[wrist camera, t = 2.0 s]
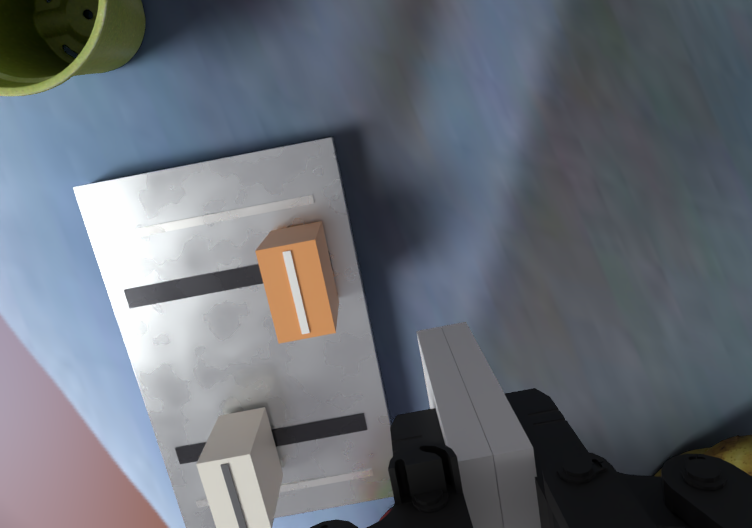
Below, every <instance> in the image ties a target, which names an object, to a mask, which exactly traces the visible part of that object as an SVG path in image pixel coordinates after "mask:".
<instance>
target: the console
mask: <svg viewBox="0 0 752 528" xmlns="http://www.w3.org/2000/svg"><path fill="white" fill-rule="evenodd" d="M73 189H74V192H75V195H76V198H77V201H78V204H79V207H80V210H81V213H82V216H83V219H84V222H85V225H86V228H87V231H88V234H89V237H90V240H91V243H92V246H93V250H94V253H95V256H96V259H97V262H98V265H99V268H100V271H101V274H102V277H103V280H104V283H105V286H106V289H107V292H108V295H109V298H110V301H111V304H112V307H113V310H114V313H115V316H116V319H117V322H118V325H119V328H120V331H121V334H122V337H123V340H124V343H125V346H126V349H127V352H128V355H129V358H130V361H131V364H132V367H133V370H134V373H135V376H136V379H137V382H138V385H139V388H140V391H141V394H142V397H143V400H144V403H145V406H146V409H147V412H148V415H149V418H150V421H151V424H152V427H153V430H154V433H155V436H156V439H157V442H158V445H159V448H160V451H161V454H162V457H163V460H164V463H165V466H166V469H167V472H168V475H169V478H170V481H171V484H172V487H173V490H174V493H175V496H176V499H177V502H178V505H179V508H180V511H181V514H182V517H183V520H184V523H185V526H186V528H216V525H215V522H214V519H213V516H212V513H211V510H210V506H209V503H208V500H207V497H206V494H205V491H204V487H203V484H202V481H201V478H200V475H199V472H198V468H197V465H196V463H197V461H198V459H199V457H200V455H201V453H202V451H203V448H204V446H205V444H206V442H207V440H208V438H209V436H210V434H211V431H212V429H213V427H214V425H215V423H216V421H217V419H218V417H219V416H220V415H226V414H231V413H236V412H242V411H247V410H253V409H258V408H263V407H265V408H266V412H267V416H268V419H269V423H270V427H271V431H272V434H273V438H274V442H275V445H276V449H277V453H278V457H279V460H280V464H281V468H282V472H283V478H282V482H281V487H280V492H279V496H278V501H277V506H276V511H275V515H274V518H277V517H283V516H288V515H294V514H299V513H305V512H310V511H316V510H321V509H327V508H332V507H338V506H343V505H349V504H354V503H360V502H365V501H371V500H377V499H382V498H388V497H393V496H394V495H393V491H392V486H391V481H390V476H389V471H388V467H389V462H390V460H391V458H392V457H393V451H392V441H391V432H390V427H391V420H390V415H389V410H388V405H387V400H386V395H385V390H384V385H383V380H382V375H381V370H380V365H379V360H378V355H377V351H376V346H375V341H374V336H373V331H372V326H371V321H370V316H369V311H368V306H367V301H366V296H365V291H364V286H363V281H362V276H361V271H360V266H359V261H358V257H357V252H356V247H355V242H354V237H353V232H352V227H351V222H350V217H349V212H348V207H347V202H346V197H345V192H344V187H343V182H342V177H341V172H340V167H339V163H338V158H337V153H336V148H335V143H334V138H333V137H328V138H322V139H317V140H312V141H307V142H302V143H296V144H291V145H286V146H281V147H276V148H271V149H265V150H260V151H255V152H250V153H245V154H240V155H234V156H229V157H224V158H219V159H214V160H209V161H203V162H198V163H193V164H188V165H183V166H177V167H172V168H167V169H162V170H157V171H152V172H146V173H141V174H136V175H131V176H126V177H121V178H115V179H110V180H105V181H100V182H95V183H90V184H85V185H81V186H77V187H73ZM319 221H322V224H323V229H324V234H325V238H326V243H327V247H328V252H329V257H330V261H331V266H332V271H333V275H334V280H335V284H336V289H337V294H338V298H339V308H338V317H337V327H336V333H333V334H328V335H322V336H317V337H312V338H306V339H301V340H296V341H290V342H285V343H280V344H279V343H278V339H277V335H276V331H275V327H274V323H273V319H272V315H271V311H270V307H269V304H268V300H267V296H266V292H265V288H264V284H263V280H262V276H261V272H260V268H259V264H258V260H257V256H256V252H255V251H256V249H257V248H258V247H259V245H260V244H261V243H262V242H263V240H264V239H265V238H266V236H267V235H268V234H269V233H270V231H272V230H277V229H283V228H288V227H293V226H298V225H304V224H309V223H314V222H319Z"/></svg>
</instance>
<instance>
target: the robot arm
mask: <svg viewBox="0 0 752 528" xmlns="http://www.w3.org/2000/svg"><path fill="white" fill-rule="evenodd" d="M417 337H418V343H419V348H420V354H421V359H422V365H423V370H424V376H425V382H426V387H427V393H428V398H429V404H430V409H428V410H422V411H417V412H411V413H406V414H401V415H397V416H396V418H395V420H394V421H393V423H392V425H391V427H390V432H391V441H392V451H393V457H392V458H391V460H390V462H389V467H388V471H389V476H390V481H391V486H392V491H393V495H394V500H395V504H394V507H393V508H392V509H391V511H390V512H389V513H388V514H387V515H386V516H385V517H384V518H383V519H382V520H380V521H379V522H377V523H375V524H373V525H371V526H369V527H367V528H752V476H750V475H749V474H747V473H746V472H744V471H743V470H741V469H739V468H738V467H736V466H735V465H733V464H731V463H729V462H727V461H724V460H722V459H720V458H717V457H713V456H709V455H705V454H683V455H678V456H674V457H672V458H671V459H669V460H667V461H666V462H665V463H664V465H663V467H662V469H661V476H662V477H660V476H637V475H628V474H623V473H619V472H616V470H615V469H614V468H613V466H612V465H611V464H610V463H609V462H607V461H606V460H605V459H604V458H602V457H600V456H598V455H595V454H593V453H589V452H588V451H587V450H586V448H585V447H584V445H583V444H582V442H581V441H580V439H579V438H578V437H577V435H576V434H575V432H574V431H573V429H572V428H571V426H570V425H569V424H568V422H567V421H565V418H564V416H563V415H562V414H561V412H560V411H559V410H558V408H557V406H556V405H555V403H554V402H553V401H552V399H551V398H550V397H549V396H548V395H546V394H544V393H542V392H541V391H539V390H537V389H535V388H533V389H528V390H523V391H517V392H512V393H506V394H504V392H503V390H502V389H501V387H500V385H499V383H498V381H497V379H496V377H495V375H494V374H493V372H492V370H491V368H490V366H489V364H488V362H487V360H486V359H485V357H484V355H483V353H482V351H481V349H480V347H479V346H478V344H477V342H476V340H475V338H474V336H473V334H472V332H471V331H470V329H469V327H468V325H467V323H466V322H463V323H458V324H452V325H447V326H442V328H441V327H436V328H431V329H426V330H420V331H417ZM310 528H358V527H357V526H355V525H354V524H352V523H350V522H349V521H343V520H331V521H324V522H321V523H319V524H317V525H315V526H312V527H310Z"/></svg>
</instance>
